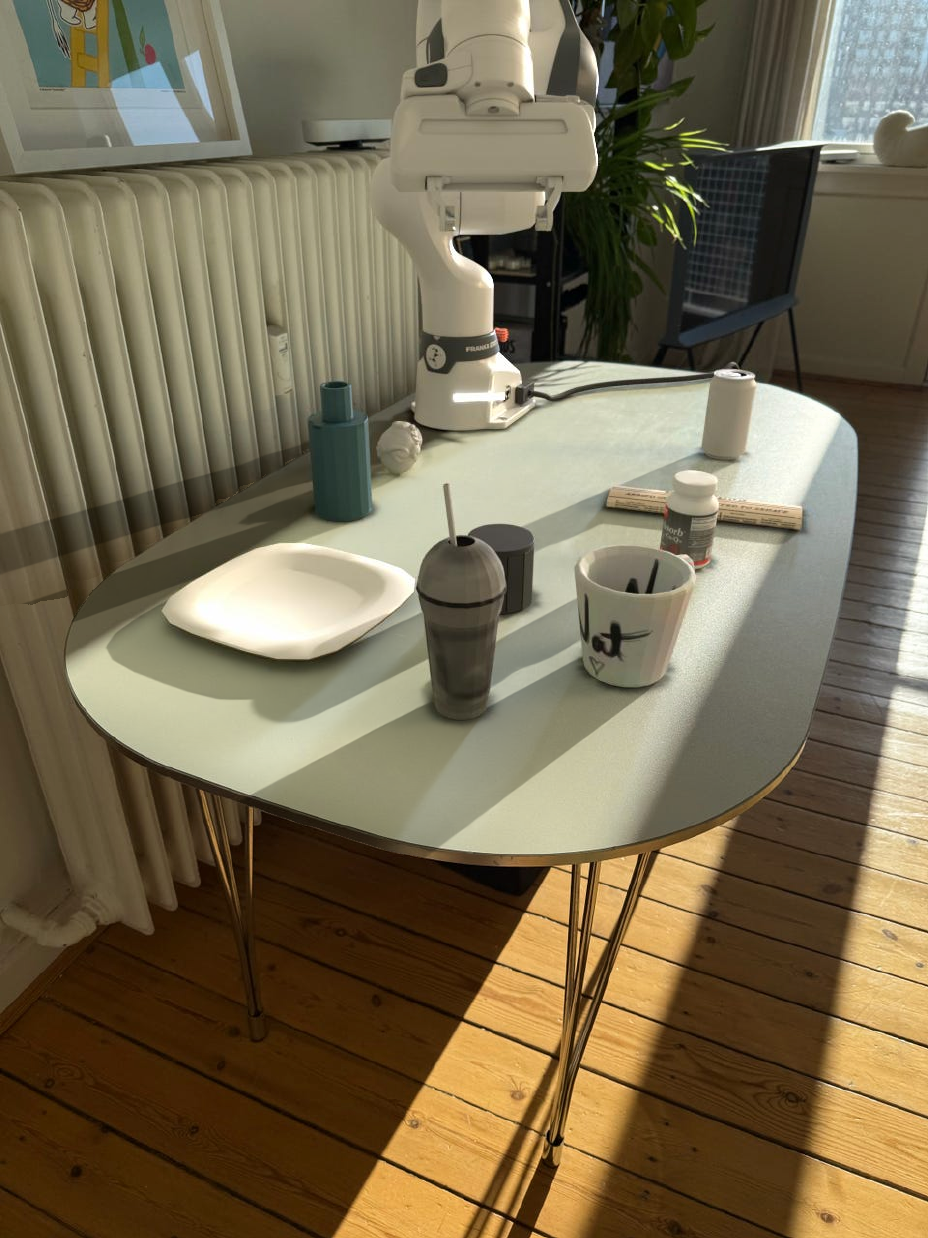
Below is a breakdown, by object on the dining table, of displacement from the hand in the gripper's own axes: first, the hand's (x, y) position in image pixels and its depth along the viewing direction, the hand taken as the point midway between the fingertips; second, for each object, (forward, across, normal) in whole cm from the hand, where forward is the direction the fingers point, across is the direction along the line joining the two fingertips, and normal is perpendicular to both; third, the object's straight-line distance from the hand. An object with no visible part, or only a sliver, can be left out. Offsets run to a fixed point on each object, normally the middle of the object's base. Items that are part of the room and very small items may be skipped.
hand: (496, 228), depth 87 cm
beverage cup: (+46, +6, +4) cm, 47 cm away
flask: (+20, +17, -31) cm, 41 cm away
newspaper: (+22, -28, -28) cm, 46 cm away
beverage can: (+10, -38, -45) cm, 60 cm away
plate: (+35, +22, -11) cm, 43 cm away
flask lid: (+35, 0, -11) cm, 36 cm away
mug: (+42, -12, -1) cm, 44 cm away
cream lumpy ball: (+12, +10, -42) cm, 45 cm away
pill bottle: (+30, -22, -17) cm, 41 cm away
